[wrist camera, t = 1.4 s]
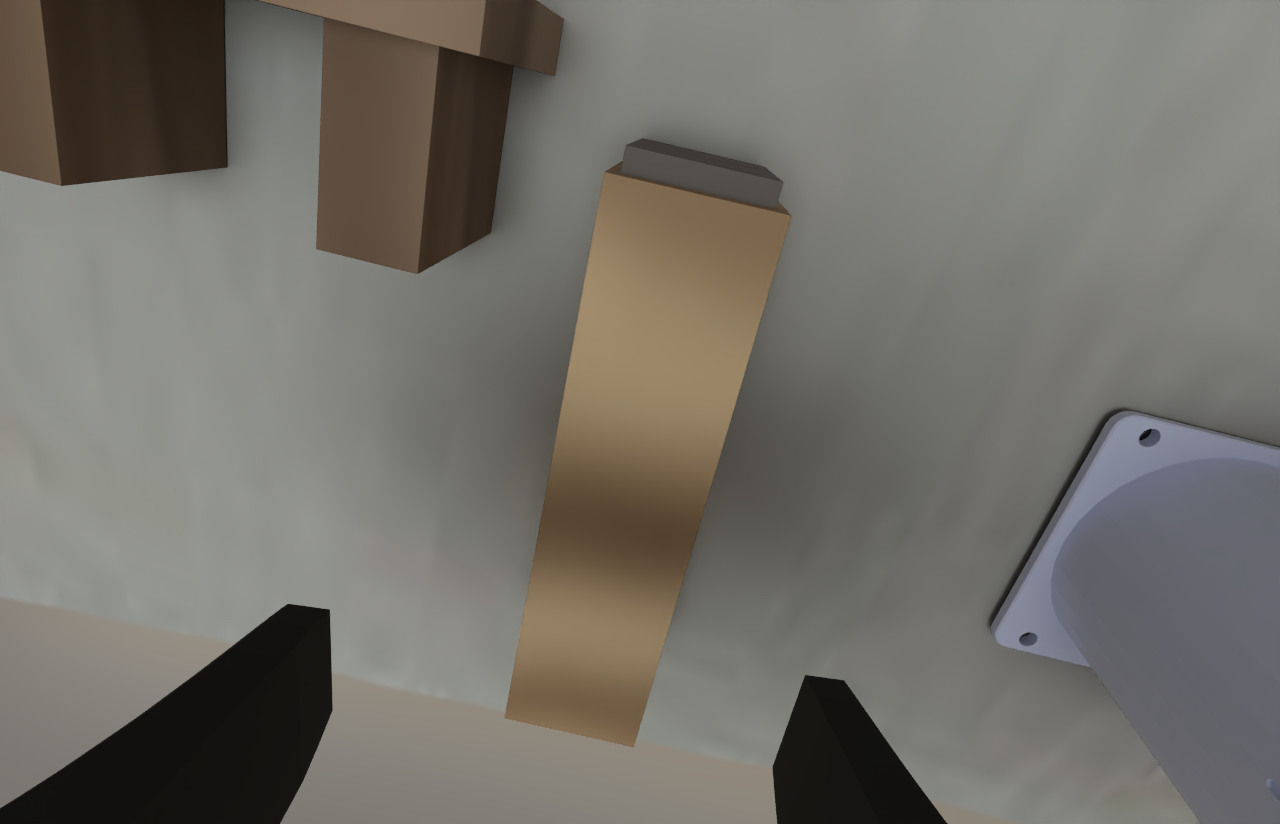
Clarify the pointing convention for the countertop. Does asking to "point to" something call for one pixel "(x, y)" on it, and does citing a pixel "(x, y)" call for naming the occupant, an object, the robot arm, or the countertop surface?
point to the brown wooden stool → (350, 106)
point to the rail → (641, 427)
